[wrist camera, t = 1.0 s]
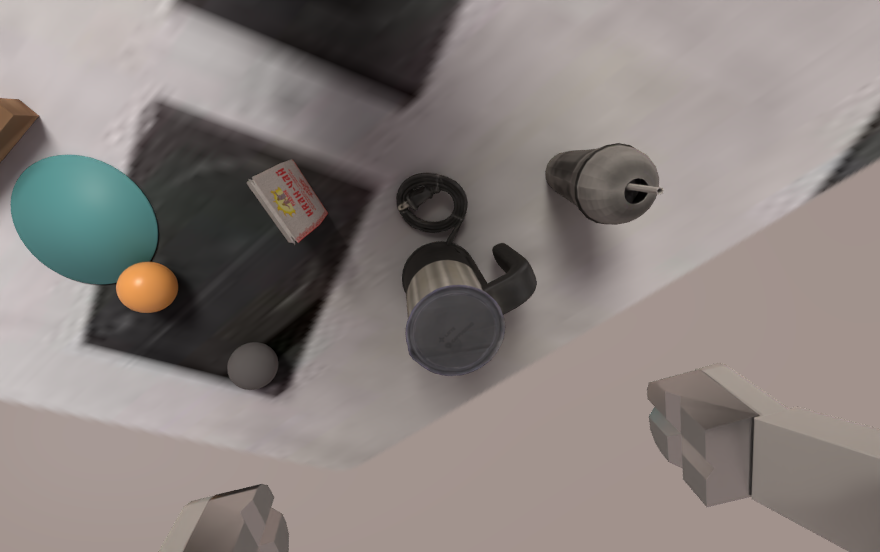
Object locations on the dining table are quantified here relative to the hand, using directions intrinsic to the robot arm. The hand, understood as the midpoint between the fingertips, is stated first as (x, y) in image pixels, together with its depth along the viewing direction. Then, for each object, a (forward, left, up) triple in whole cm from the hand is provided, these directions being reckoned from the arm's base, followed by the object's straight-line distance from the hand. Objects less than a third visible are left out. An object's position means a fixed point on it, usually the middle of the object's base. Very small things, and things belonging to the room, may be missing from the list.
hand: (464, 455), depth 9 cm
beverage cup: (+12, +15, -42) cm, 46 cm away
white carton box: (-7, -9, -42) cm, 44 cm away
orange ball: (-11, -27, -39) cm, 49 cm away
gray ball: (+3, -27, -39) cm, 48 cm away
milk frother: (+7, -2, -42) cm, 43 cm away
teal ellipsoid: (-20, -27, -42) cm, 54 cm away
